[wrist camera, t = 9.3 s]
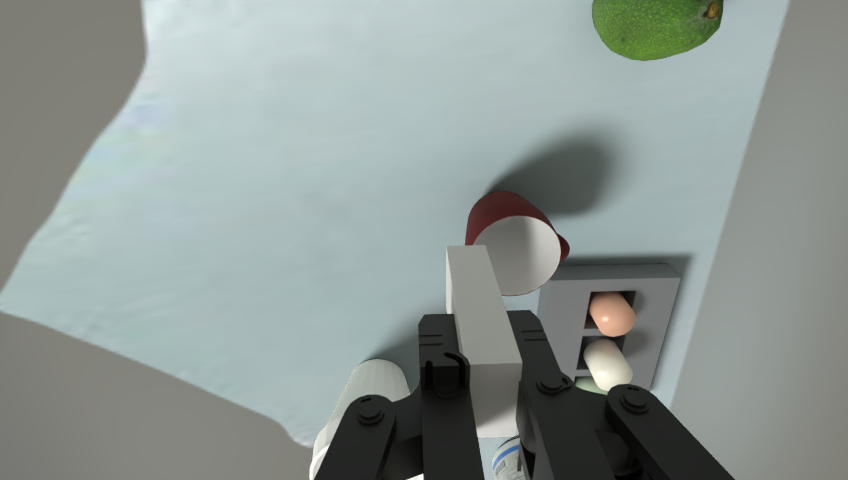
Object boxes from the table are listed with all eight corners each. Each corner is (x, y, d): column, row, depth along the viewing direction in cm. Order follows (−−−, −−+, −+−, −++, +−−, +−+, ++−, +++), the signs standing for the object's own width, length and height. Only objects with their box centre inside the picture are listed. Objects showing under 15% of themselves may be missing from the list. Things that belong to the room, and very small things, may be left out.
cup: (412, 421, 63) (414, 523, 51) (320, 406, 61) (299, 507, 49) (438, 351, 58) (446, 446, 46) (338, 332, 56) (319, 425, 44)
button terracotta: (588, 285, 53) (601, 306, 49) (623, 284, 53) (639, 305, 49) (583, 315, 55) (595, 337, 51) (617, 314, 55) (632, 336, 51)
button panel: (543, 266, 53) (550, 280, 50) (667, 263, 53) (681, 277, 50) (526, 398, 62) (532, 416, 59) (632, 395, 62) (642, 413, 60)
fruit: (623, -72, 38) (707, -99, 28) (690, -13, 41) (792, -16, 30) (559, 19, 41) (612, 27, 31) (625, 71, 43) (696, 94, 33)
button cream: (586, 339, 54) (598, 363, 50) (620, 338, 54) (636, 362, 50) (581, 366, 56) (593, 391, 52) (614, 365, 56) (628, 390, 52)
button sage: (573, 367, 58) (584, 391, 55) (605, 366, 58) (618, 390, 55) (569, 391, 60) (579, 416, 57) (600, 390, 60) (612, 415, 57)
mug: (566, 184, 48) (602, 225, 39) (544, 252, 52) (573, 305, 43) (466, 168, 47) (479, 208, 38) (450, 239, 51) (459, 290, 42)
